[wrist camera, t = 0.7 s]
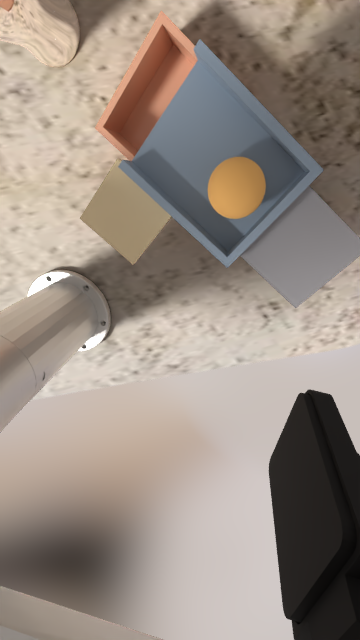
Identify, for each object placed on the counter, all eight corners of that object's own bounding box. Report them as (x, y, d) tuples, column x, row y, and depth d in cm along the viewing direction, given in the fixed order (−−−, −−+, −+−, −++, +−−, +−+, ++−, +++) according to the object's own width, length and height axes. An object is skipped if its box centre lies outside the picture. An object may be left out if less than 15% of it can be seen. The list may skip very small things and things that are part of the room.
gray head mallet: (358, 228, 27) (393, 243, 21) (238, 332, 34) (236, 367, 27) (201, 64, 24) (187, 25, 18) (103, 212, 31) (67, 221, 25)
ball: (236, 226, 24) (235, 235, 21) (200, 191, 24) (192, 193, 20) (275, 184, 23) (281, 186, 19) (236, 145, 22) (235, 139, 18)
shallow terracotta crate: (184, 201, 36) (176, 204, 31) (114, 134, 34) (94, 127, 30) (251, 116, 31) (253, 106, 27) (173, 35, 29) (161, 10, 25)
